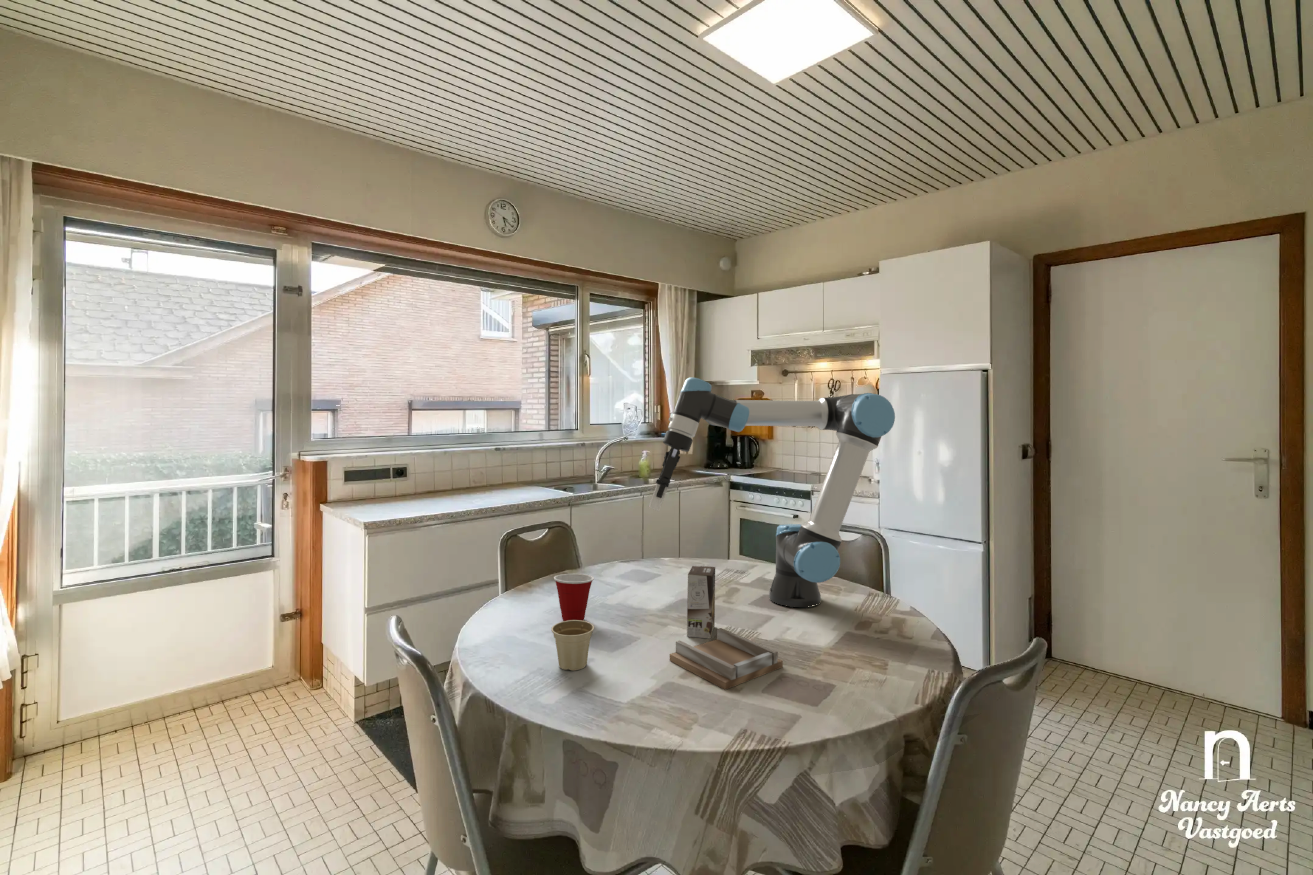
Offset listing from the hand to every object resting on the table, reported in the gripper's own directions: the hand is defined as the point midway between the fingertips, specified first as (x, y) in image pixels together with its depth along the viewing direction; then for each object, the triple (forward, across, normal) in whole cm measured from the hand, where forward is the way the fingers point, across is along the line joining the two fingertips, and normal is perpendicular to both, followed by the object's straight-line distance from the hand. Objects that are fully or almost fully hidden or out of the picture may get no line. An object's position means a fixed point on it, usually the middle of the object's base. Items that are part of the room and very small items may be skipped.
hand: (653, 509), depth 162 cm
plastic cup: (+36, -6, -10) cm, 38 cm away
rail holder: (+27, +21, +26) cm, 43 cm away
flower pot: (+38, +22, -6) cm, 45 cm away
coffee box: (+26, +2, +22) cm, 34 cm away
